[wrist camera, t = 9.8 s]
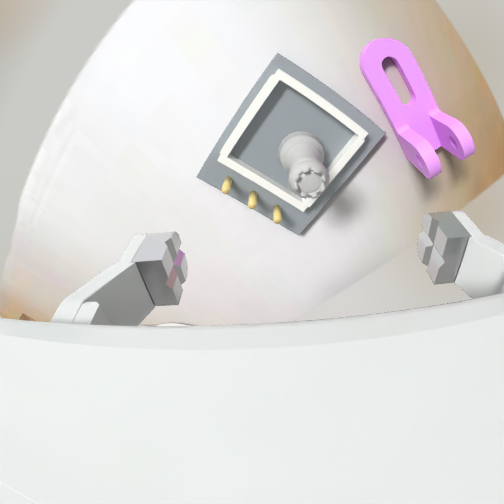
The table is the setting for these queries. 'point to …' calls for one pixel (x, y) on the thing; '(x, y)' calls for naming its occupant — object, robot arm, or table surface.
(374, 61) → the bracket
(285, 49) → the table surface
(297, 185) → the rook chess piece
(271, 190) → the board
